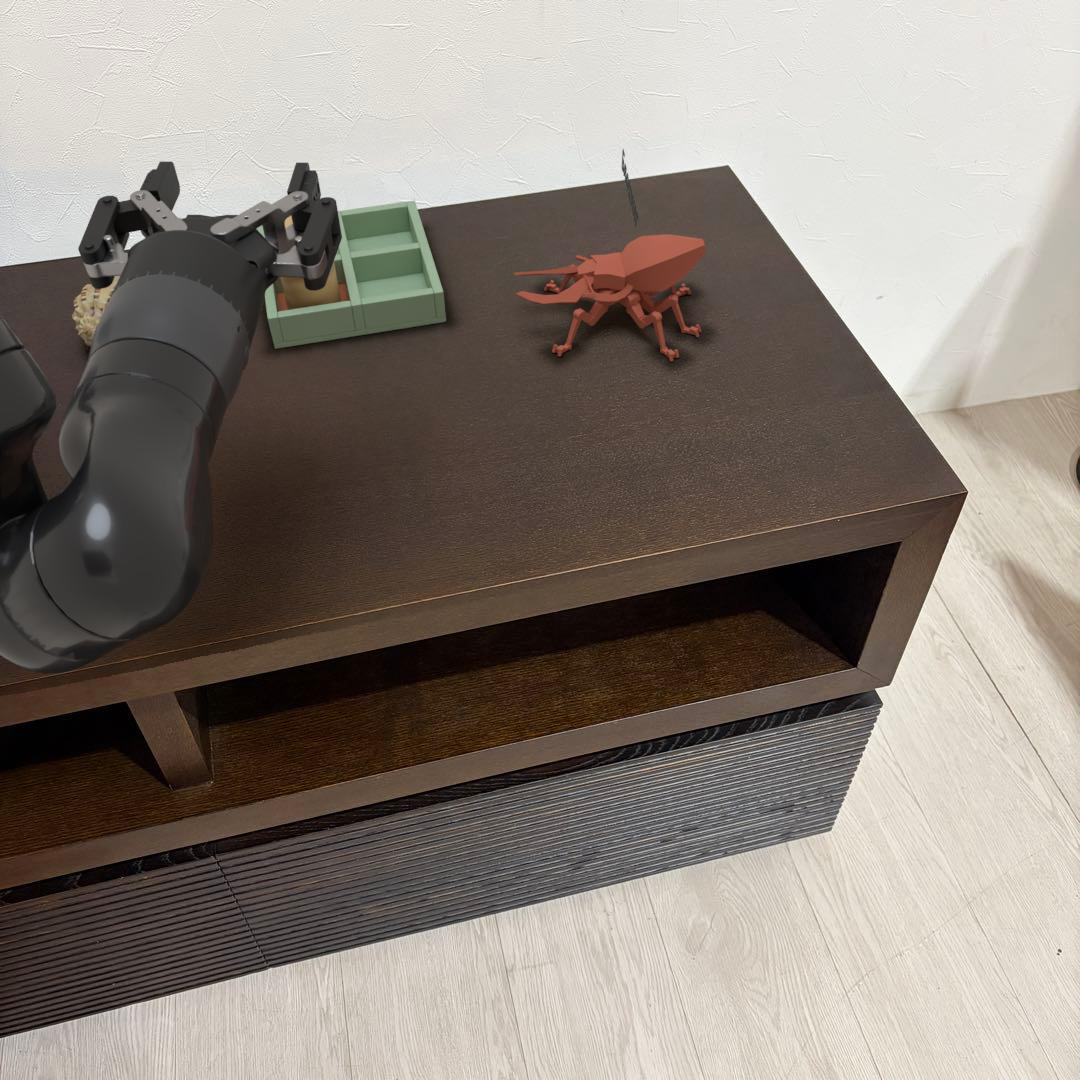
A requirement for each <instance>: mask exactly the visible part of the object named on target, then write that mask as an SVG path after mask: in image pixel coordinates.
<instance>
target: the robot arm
mask: <svg viewBox="0 0 1080 1080" xmlns="http://www.w3.org/2000/svg"><path fill="white" fill-rule="evenodd" d="M180 193H181V185H180V181H179V178H178V174H177V170H176V167H175V164H174V162H173V161H159V162H158V165H157V167H156V168H154V169H151V170H150V171H149V172H147V174H146V176H145V178H144V180H143V182H142V185H141V186H140V188H139V190H135V191H133V192H132V193H131V194H130V196H129V199H127V200H121V201H119V199H118V197H117V196H115V195H105V196H102V197H100V198H99V199H98V200H97V201H96V204H95V206H94V209H93V211H92V214H91V216H90V218H89V221H88V223H87V226H86V229H85V230H84V233H83V236H82V238H81V241H80V242H79V245H78V249H77V250H78V252H79V255H80V258H81V260H82V264H83V266H84V269H85V272H86V274H87V277H88V279H89V283H90V282H91V284H92V286H93V287H94V288H97V289H102V288H106V287H108V286H110V285H111V284H112V282H113V280H114V277H115V276H120V278H119V280H118V282H117V284H116V286H115V289H114V291H113V293H112V295H111V297H110V299H109V302H108V304H107V306H106V309H105V311H104V313H103V315H102V317H101V319H100V321H99V324H98V326H97V328H96V331H95V334H94V337H93V340H92V344H91V347H89V348H90V349H89V353H88V358H87V361H86V364H85V366H84V368H83V371H82V373H81V375H80V377H79V379H78V381H77V384H76V386H75V387H74V390H73V392H72V394H71V397H70V399H69V401H68V403H67V406H66V408H65V410H64V413H63V417H62V420H61V424H60V427H59V432H58V437H57V440H58V441H57V442H58V443H57V445H58V446H57V447H58V449H57V451H58V454H59V458H60V462H61V465H62V467H63V469H64V471H65V472H66V474H67V476H68V478H69V479H70V482H69V483H68V485H66V487H65V488H64V489H63V490H61V492H59V493H58V494H56V495H55V496H52V497H51V498H48V496H47V494H46V492H45V489H44V486H43V484H42V481H41V479H40V475H39V473H38V470H37V468H36V464H35V460H34V457H33V454H34V450H35V449H34V448H35V446H36V444H37V443H38V440H39V439H40V438H41V436H42V435H43V433H44V432H45V431H46V429H47V428H48V427H49V425H50V423H51V422H52V420H53V418H54V416H55V414H56V410H57V399H56V395H55V392H54V389H53V387H52V385H51V383H50V382H49V380H48V378H47V376H46V375H45V373H44V372H43V370H42V369H41V368H40V366H39V364H38V363H37V361H36V360H35V358H34V357H33V356H32V354H31V353H30V352H29V351H28V349H25V345H24V343H23V342H22V340H21V339H20V338H19V336H18V335H17V333H15V331H14V329H13V328H12V327H11V326H10V324H9V322H8V321H7V320H6V318H5V317H4V316H3V314H2V313H1V312H0V657H1V658H3V659H5V660H6V661H8V662H10V663H11V664H13V665H16V666H18V667H19V668H23V669H24V670H28V671H31V672H34V673H40V674H51V675H52V674H53V675H54V674H56V675H57V674H63V673H68V672H71V671H75V670H78V669H81V668H84V667H85V666H87V665H89V664H91V663H94V662H95V661H97V660H99V659H101V658H103V657H105V656H107V655H109V654H111V653H112V652H115V651H116V650H118V649H121V648H122V647H124V646H126V645H128V644H130V643H132V642H134V641H136V640H138V639H140V638H142V637H144V636H146V635H148V634H150V633H152V632H154V631H156V630H158V629H160V628H162V627H163V626H165V625H167V624H169V623H170V622H172V621H173V620H175V619H176V618H177V617H178V616H180V615H181V614H182V613H183V612H184V611H185V610H186V608H188V606H190V604H191V603H192V601H193V600H194V598H195V597H196V595H197V594H198V592H199V591H200V589H201V587H202V585H203V583H204V581H205V579H206V577H207V575H208V571H209V569H210V566H211V562H212V557H213V552H214V523H213V504H212V503H213V501H212V481H211V480H212V479H211V474H210V473H211V471H210V461H211V459H212V456H213V453H214V450H215V447H216V443H217V440H218V437H219V433H220V431H221V427H222V424H223V420H224V418H225V415H226V412H227V410H228V408H229V407H230V404H231V403H232V401H233V399H234V397H235V395H236V393H237V392H238V388H239V385H240V382H241V380H242V376H243V373H244V370H246V367H247V366H248V365H249V364H248V363H249V358H250V349H251V347H252V344H253V339H254V337H255V333H256V330H257V326H258V323H259V321H260V317H261V315H262V314H261V313H262V310H263V307H264V302H265V292H266V290H267V289H268V287H270V286H271V285H272V284H273V283H274V282H275V281H276V280H277V279H278V277H296V278H303V279H304V284H305V287H306V288H307V289H308V290H312V291H316V290H320V289H322V288H323V287H324V286H325V285H326V282H327V279H328V276H329V273H330V270H331V268H332V265H333V262H334V259H335V256H336V253H337V250H338V248H339V245H340V242H341V239H342V234H341V228H340V222H339V216H338V211H339V210H338V204H337V200H336V198H334V197H331V196H330V197H329V196H325V197H322V192H321V187H320V181H319V175H318V172H317V170H315V169H314V170H311V168H310V164H309V162H296V163H295V165H294V168H293V171H292V175H291V178H290V182H289V183H288V188H287V190H286V194H287V195H285V196H283V197H281V198H280V199H279V200H276V201H274V202H273V203H270V202H268V201H266V200H261V201H260V202H258V203H256V204H255V205H253V206H251V207H250V208H248V209H246V210H244V211H243V212H240V214H223V215H215V216H211V215H204V214H187V215H186V217H183V218H181V217H178V216H176V214H175V213H174V212H173V210H174V207H175V205H176V203H177V201H178V198H179V196H180V195H181V194H180ZM289 216H291V217H292V222H293V224H292V225H290V226H289V227H287V228H285V220H286V219H287V218H288V217H289ZM260 226H263V231H264V235H265V238H264V237H263V236H262V234H261V233H260V232H259V231H258V230H257V229H256V228H258V227H260ZM139 231H140V233H141V235H142V236H143V237H144V238H143V239H141V240H139V241H138V242H136V243H134V244H133V245H132V246H131V247H130V248H129V250H128V252H125V249H126V246H127V244H128V241H129V238H130V233H133V232H139Z"/></svg>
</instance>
